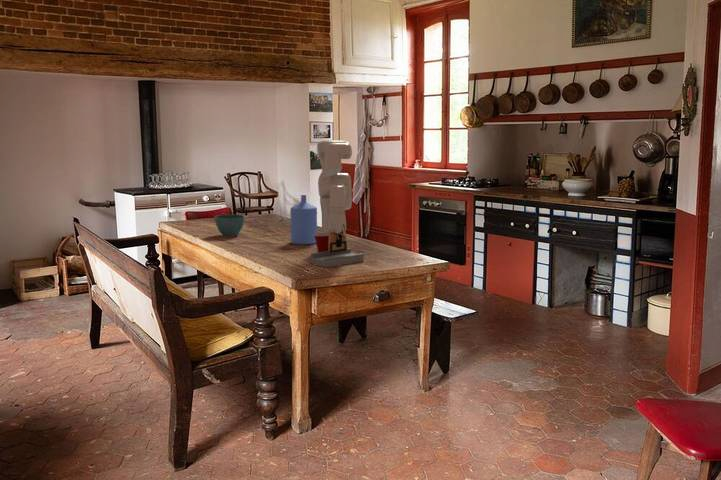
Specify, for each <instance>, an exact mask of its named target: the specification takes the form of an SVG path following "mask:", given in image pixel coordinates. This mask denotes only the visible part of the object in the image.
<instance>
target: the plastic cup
mask: <svg viewBox="0 0 721 480" xmlns="http://www.w3.org/2000/svg"><path fill="white" fill-rule="evenodd" d="M331 236H332V235H331ZM314 237H315V240H316V243H315V244H316V249H317V253H319V252H326V251H328V242H329V233H322V232H320V233H319V232H318V233H317V234H314Z"/></svg>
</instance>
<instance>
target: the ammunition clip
mask: <svg viewBox="0 0 721 480" xmlns="http://www.w3.org/2000/svg"><path fill="white" fill-rule="evenodd" d="M346 232H347V231H346ZM346 232H345V234H346V235H345V236H343V239H342V247H336V239H337V234H336V233H335V235H334V232H333V229H332V236H331V229H330V230H329V242H328V253H333V252H341V251H347V249H348V248H347V247H348V245H347V233H346ZM339 235H340V234H339Z"/></svg>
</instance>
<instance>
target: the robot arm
mask: <svg viewBox="0 0 721 480" xmlns="http://www.w3.org/2000/svg"><path fill="white" fill-rule="evenodd" d="M316 151H317V155H318V158H319V161H320V164H321V173H320V174H319V176H318V180H317V186H318V189H317V190H318V195H319V197H320V198H319V203H320V211H321V233H329V230H330V229H331V235H332V229H333V232H334V235H335V233H336V234H337V239H336V247H342V239H343V236H345V235H346V236H347V233H346V234H345V232H347V218H346V217H347V216H346V211H347V210H348V211H349V210H350V209H351V208H352V205H353V204H352V203H353V199H352V198H353V196H352V195H353V193H352V192H353V191H352V177H351V175H350V174H349V173H346V172H342V170H343V164H342V160H350V159H352V155H353V150H352V146H351V143H350V142H349V141H348V140H321V141H319V142H318V143H317V145H316ZM339 234H340V235H339Z"/></svg>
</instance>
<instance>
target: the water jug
mask: <svg viewBox="0 0 721 480" xmlns="http://www.w3.org/2000/svg"><path fill="white" fill-rule="evenodd" d="M300 196H301V197H300V202H299V203H297V204H295V205H293V206H291V207H290V242H291V243H292V244H294V245H314V244H316V240H315V237H314V234H318V208H317V207H316V206H315V205H314V204H311V203H309V202H308V201H307V195H305V194H301V195H300Z"/></svg>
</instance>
